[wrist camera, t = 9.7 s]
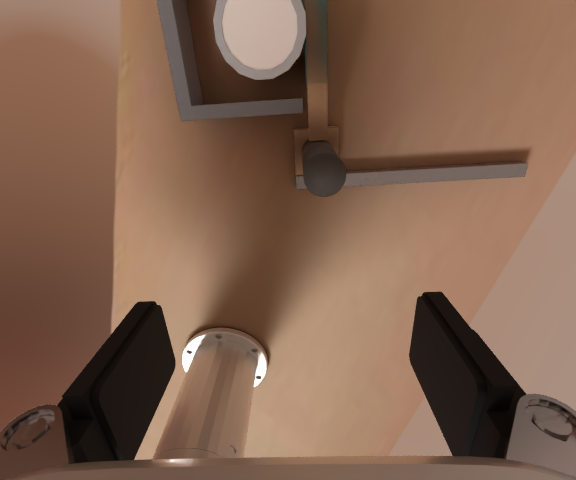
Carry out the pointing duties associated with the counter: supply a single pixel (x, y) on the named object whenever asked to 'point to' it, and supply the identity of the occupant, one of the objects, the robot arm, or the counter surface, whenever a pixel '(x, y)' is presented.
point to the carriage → (318, 113)
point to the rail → (430, 174)
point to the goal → (187, 76)
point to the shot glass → (260, 35)
